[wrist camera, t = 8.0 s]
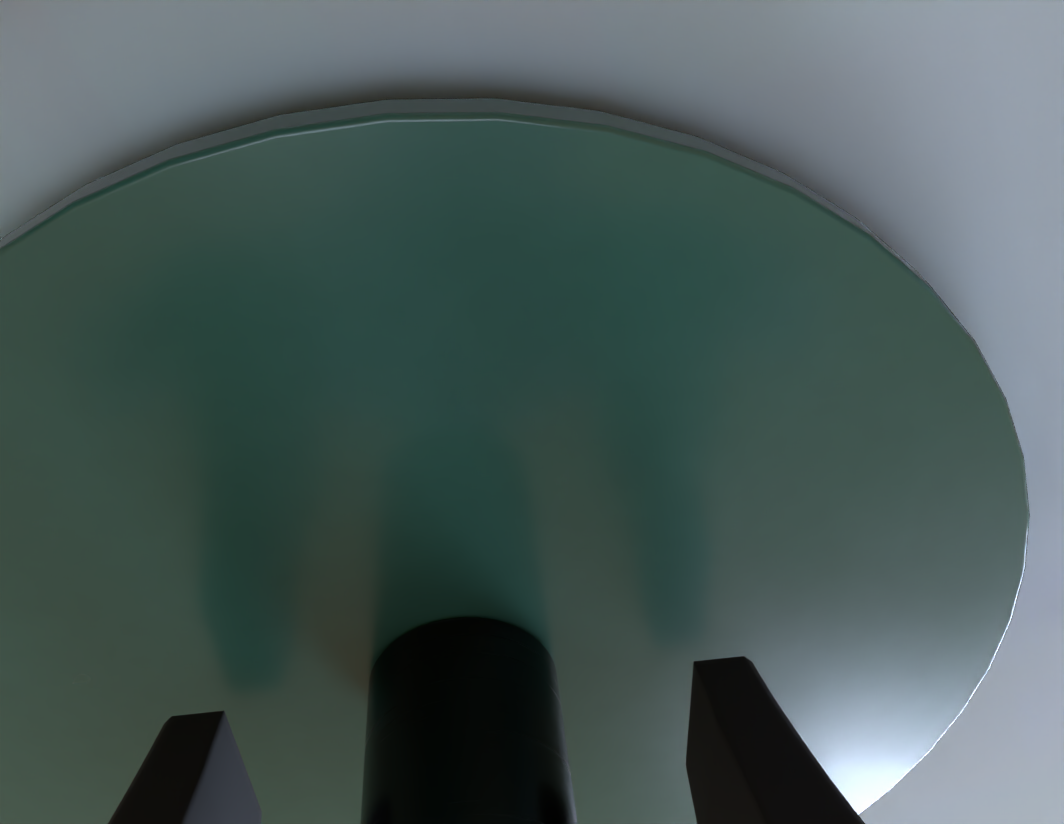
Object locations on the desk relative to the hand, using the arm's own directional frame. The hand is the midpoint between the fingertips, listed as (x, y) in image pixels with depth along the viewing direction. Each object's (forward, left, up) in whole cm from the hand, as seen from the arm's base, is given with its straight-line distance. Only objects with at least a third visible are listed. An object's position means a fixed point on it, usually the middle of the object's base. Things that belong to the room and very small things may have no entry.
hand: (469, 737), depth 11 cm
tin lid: (0, 0, -1) cm, 1 cm away
